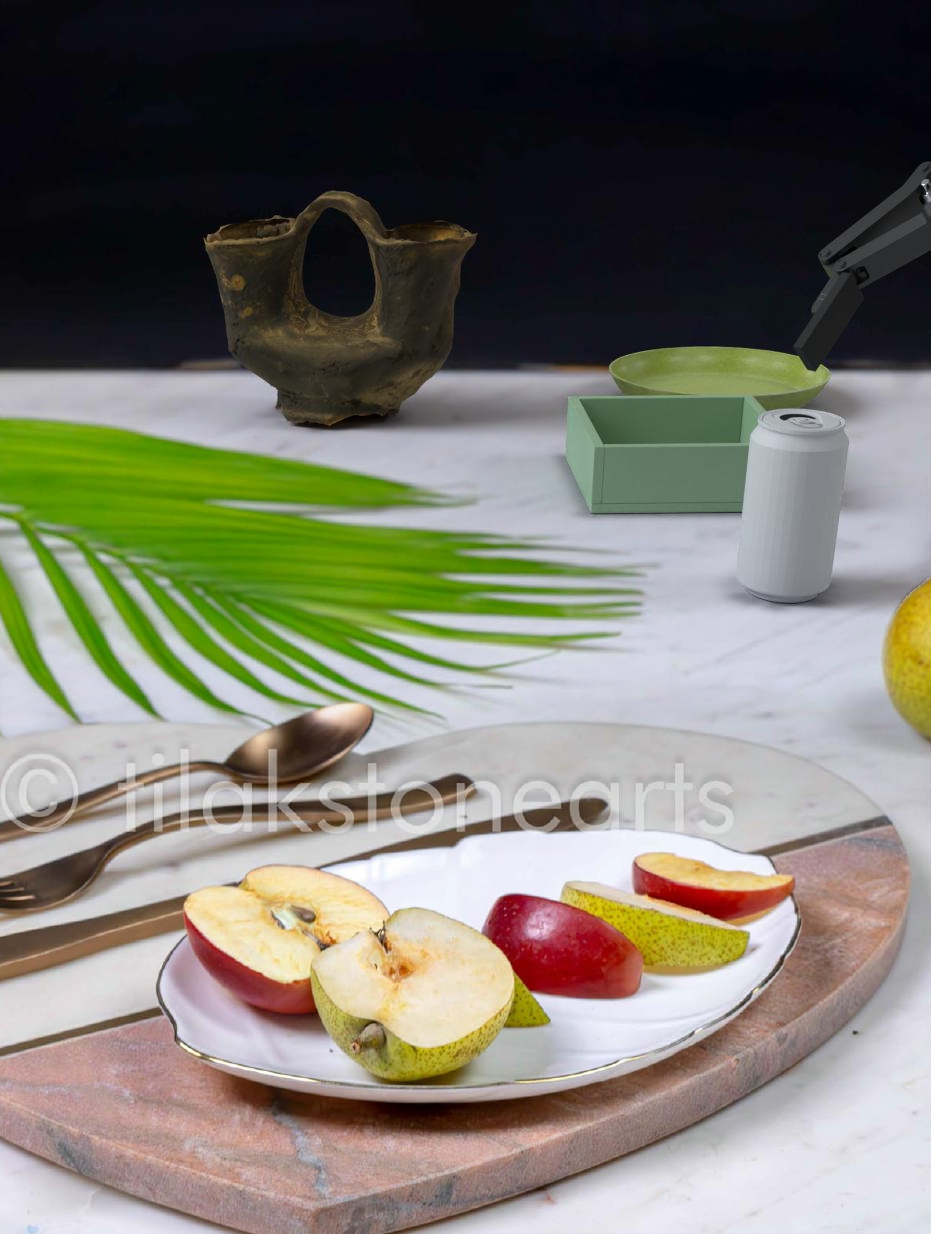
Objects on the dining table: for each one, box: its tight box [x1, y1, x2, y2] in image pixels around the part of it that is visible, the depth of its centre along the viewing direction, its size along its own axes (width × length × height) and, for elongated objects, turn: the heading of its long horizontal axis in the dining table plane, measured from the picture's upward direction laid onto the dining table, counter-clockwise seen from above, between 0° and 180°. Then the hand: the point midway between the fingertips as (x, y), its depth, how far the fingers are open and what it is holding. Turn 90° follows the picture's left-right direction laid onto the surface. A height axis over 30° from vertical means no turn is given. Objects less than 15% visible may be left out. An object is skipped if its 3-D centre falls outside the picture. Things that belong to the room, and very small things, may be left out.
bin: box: [564, 395, 766, 514], centre depth 138 cm, size 16×16×5 cm
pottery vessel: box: [203, 190, 478, 427], centre depth 154 cm, size 25×11×20 cm, turn 76°
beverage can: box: [735, 408, 850, 604], centre depth 114 cm, size 6×6×12 cm
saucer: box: [608, 346, 832, 411], centre depth 162 cm, size 21×21×3 cm
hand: (883, 377), depth 116 cm, fingers open, 13 cm apart
